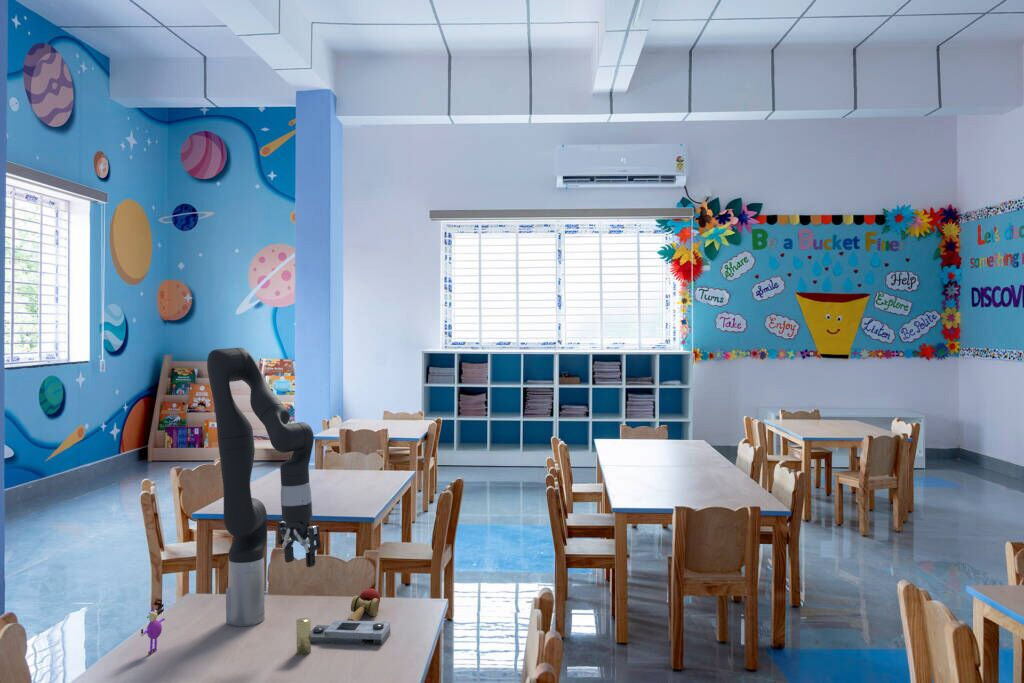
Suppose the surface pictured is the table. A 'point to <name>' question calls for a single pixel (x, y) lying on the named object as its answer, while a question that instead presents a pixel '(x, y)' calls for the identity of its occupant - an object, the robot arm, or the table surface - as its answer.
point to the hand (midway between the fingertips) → (300, 564)
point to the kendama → (365, 604)
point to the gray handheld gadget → (351, 632)
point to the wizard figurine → (153, 627)
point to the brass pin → (303, 636)
